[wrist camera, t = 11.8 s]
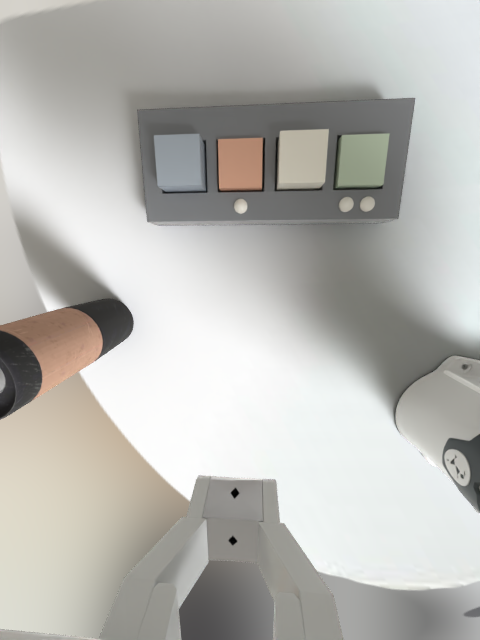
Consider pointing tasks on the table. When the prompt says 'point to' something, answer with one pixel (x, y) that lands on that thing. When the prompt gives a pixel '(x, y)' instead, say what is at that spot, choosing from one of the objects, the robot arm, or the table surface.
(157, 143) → the slate key
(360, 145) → the sage key
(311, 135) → the cream key
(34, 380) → the travel mug
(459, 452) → the robot arm
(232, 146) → the terracotta key
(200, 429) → the table surface
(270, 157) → the keypad
